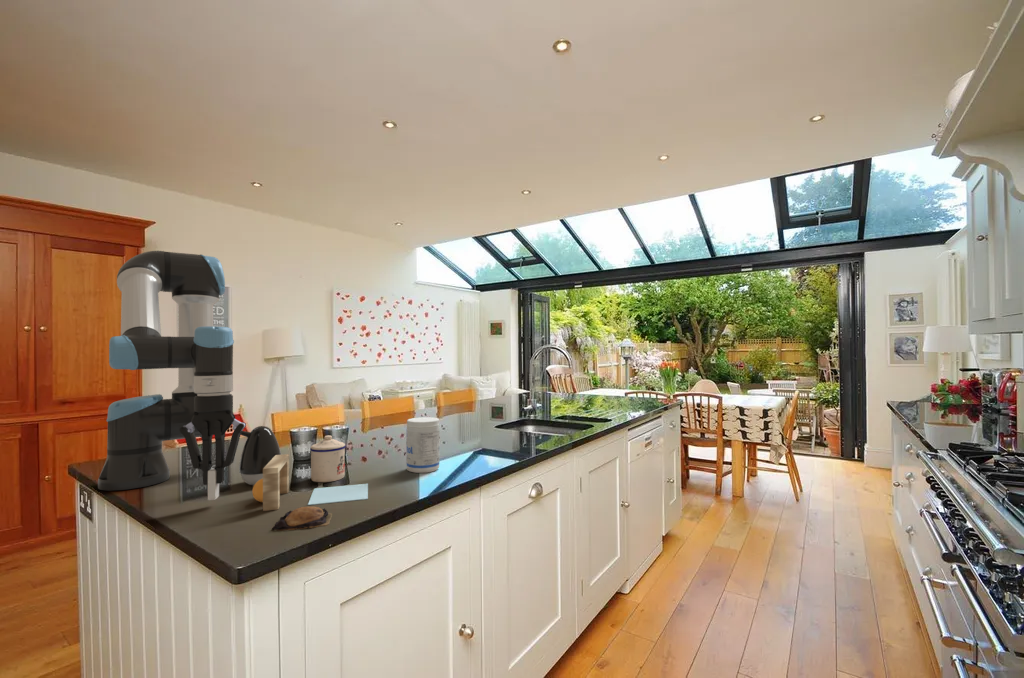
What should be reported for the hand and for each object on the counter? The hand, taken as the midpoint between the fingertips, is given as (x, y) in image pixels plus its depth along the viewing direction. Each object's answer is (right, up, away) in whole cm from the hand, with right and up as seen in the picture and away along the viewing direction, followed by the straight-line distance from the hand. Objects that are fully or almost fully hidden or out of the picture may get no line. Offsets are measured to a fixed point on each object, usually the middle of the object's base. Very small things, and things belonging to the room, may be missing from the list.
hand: (213, 498), depth 105 cm
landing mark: (+26, -2, +8) cm, 27 cm away
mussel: (+25, -2, -10) cm, 27 cm away
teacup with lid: (+17, -3, +24) cm, 29 cm away
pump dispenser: (0, -3, +19) cm, 19 cm away
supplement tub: (+42, -2, +31) cm, 52 cm away
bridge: (+12, -2, +4) cm, 13 cm away
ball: (+10, +1, +3) cm, 11 cm away
